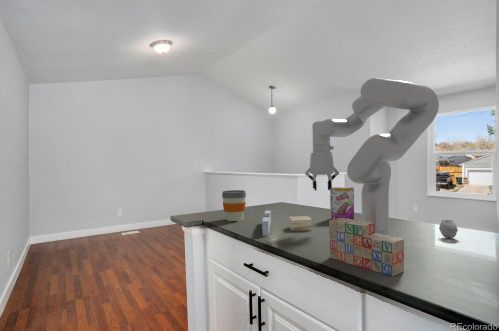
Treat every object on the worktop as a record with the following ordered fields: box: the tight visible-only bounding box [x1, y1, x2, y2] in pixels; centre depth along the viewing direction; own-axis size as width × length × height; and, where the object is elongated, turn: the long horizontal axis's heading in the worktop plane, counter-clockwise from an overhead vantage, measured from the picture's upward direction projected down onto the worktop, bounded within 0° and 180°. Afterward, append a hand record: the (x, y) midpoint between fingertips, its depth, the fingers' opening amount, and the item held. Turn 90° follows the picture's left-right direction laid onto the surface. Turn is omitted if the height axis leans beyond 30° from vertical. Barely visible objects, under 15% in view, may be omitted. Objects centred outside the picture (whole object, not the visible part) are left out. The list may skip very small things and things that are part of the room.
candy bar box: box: [329, 186, 355, 220], centre depth 159 cm, size 11×5×16 cm, turn 84°
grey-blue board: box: [261, 210, 272, 237], centre depth 143 cm, size 26×2×6 cm, turn 174°
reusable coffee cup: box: [221, 189, 247, 222], centre depth 165 cm, size 13×13×15 cm
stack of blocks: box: [328, 218, 405, 277], centre depth 94 cm, size 21×6×12 cm, turn 35°
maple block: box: [288, 215, 313, 232], centre depth 142 cm, size 7×9×5 cm
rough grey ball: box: [438, 219, 458, 239], centre depth 120 cm, size 6×7×7 cm
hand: (322, 189), depth 140 cm, fingers open, 5 cm apart
